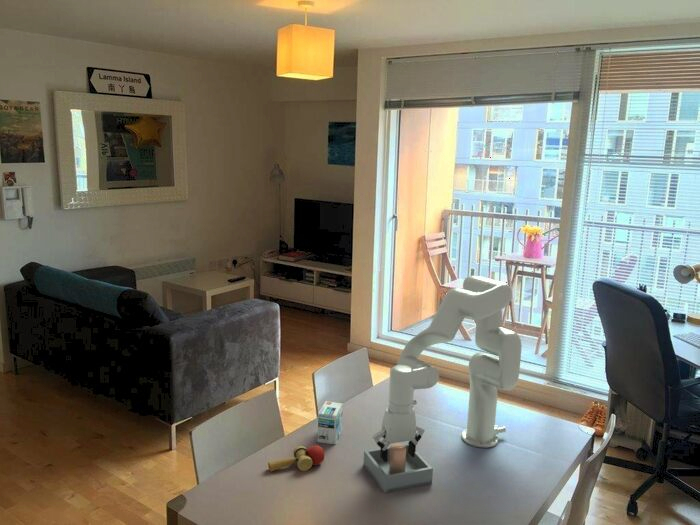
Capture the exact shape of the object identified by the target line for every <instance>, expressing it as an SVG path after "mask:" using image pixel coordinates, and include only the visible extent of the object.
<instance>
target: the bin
mask: <svg viewBox="0 0 700 525" xmlns="http://www.w3.org/2000/svg"><path fill="white" fill-rule="evenodd" d="M402 444H403V445H405V446H406V468H405V472H401V473H396V474H391V473H390V471H389V467H390V446H388V447H387V450H388V458H387V462H384V460H383V459H382V458H381V457H380V450H381V448H380V447H379V448H374V449H367V450H364V451H363V466H364V468H365V469H366V471H367V472H368V473H369V475H370V476H371V477H372V479H373V480H374V482H376V484H377V485H378V487H379V488H380V490H382V492H383V493H384V494H387V493H392V492H396V491H401V490H407V489H411V488H415V487H422V486H426V485H431V484H433V476H434V468H433V466H432V465H431V464H429V462H427V461H426V459H424V457H423V455H421V454H420V453H419V452H418V451H417V450H416V452H415V457H412V456H411V455H410V454H409V453H408V444H409V442H408V443H402Z"/></svg>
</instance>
